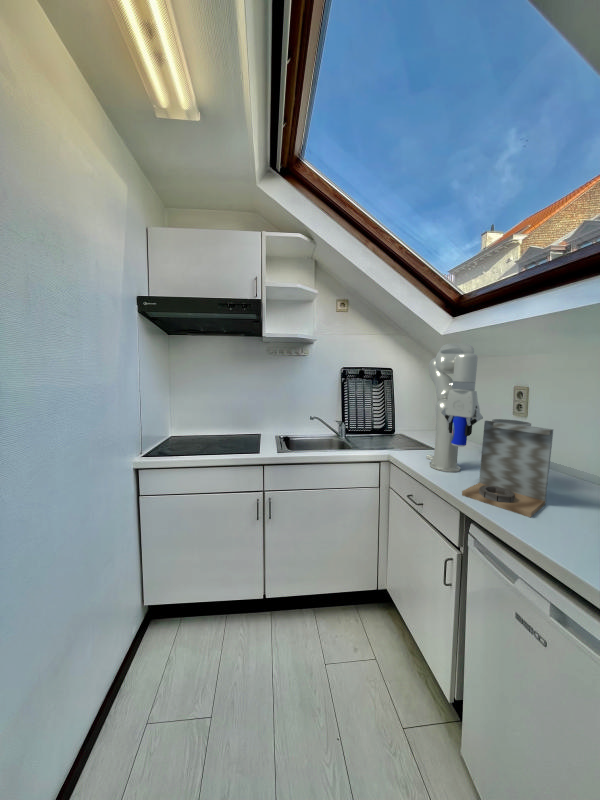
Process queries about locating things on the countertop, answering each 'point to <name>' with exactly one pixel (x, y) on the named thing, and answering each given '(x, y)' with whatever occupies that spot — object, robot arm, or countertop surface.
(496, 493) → the display stand
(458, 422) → the beverage can
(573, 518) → the countertop surface
